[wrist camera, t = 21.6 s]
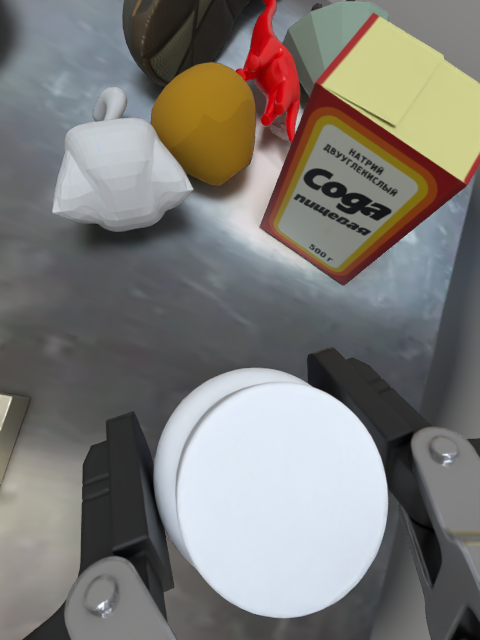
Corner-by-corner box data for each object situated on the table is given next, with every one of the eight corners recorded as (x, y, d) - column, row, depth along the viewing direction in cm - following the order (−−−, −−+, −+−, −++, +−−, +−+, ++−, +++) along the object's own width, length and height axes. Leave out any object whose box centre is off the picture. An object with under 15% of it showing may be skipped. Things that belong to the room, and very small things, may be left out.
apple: (282, 149, 35) (233, 57, 33) (278, 139, 27) (212, 14, 25) (205, 201, 38) (155, 118, 36) (180, 206, 29) (113, 99, 27)
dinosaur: (321, 154, 32) (356, 105, 40) (212, -24, 27) (276, -42, 34) (288, 175, 35) (326, 127, 43) (183, 19, 30) (247, -6, 37)
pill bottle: (314, 427, 16) (465, 441, 7) (253, 547, 14) (352, 740, 6) (210, 360, 16) (239, 299, 7) (138, 473, 14) (71, 560, 6)
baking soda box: (376, 234, 36) (519, 100, 20) (344, 285, 34) (472, 180, 19) (296, 179, 36) (376, 5, 21) (259, 226, 34) (317, 75, 19)
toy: (71, 169, 38) (75, 263, 28) (36, 77, 31) (27, 158, 22) (166, 155, 39) (199, 239, 30) (151, 65, 33) (187, 136, 24)
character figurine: (446, -48, 31) (470, 159, 30) (411, 34, 39) (429, 199, 38) (257, -15, 33) (273, 182, 31) (262, 57, 41) (274, 215, 40)
